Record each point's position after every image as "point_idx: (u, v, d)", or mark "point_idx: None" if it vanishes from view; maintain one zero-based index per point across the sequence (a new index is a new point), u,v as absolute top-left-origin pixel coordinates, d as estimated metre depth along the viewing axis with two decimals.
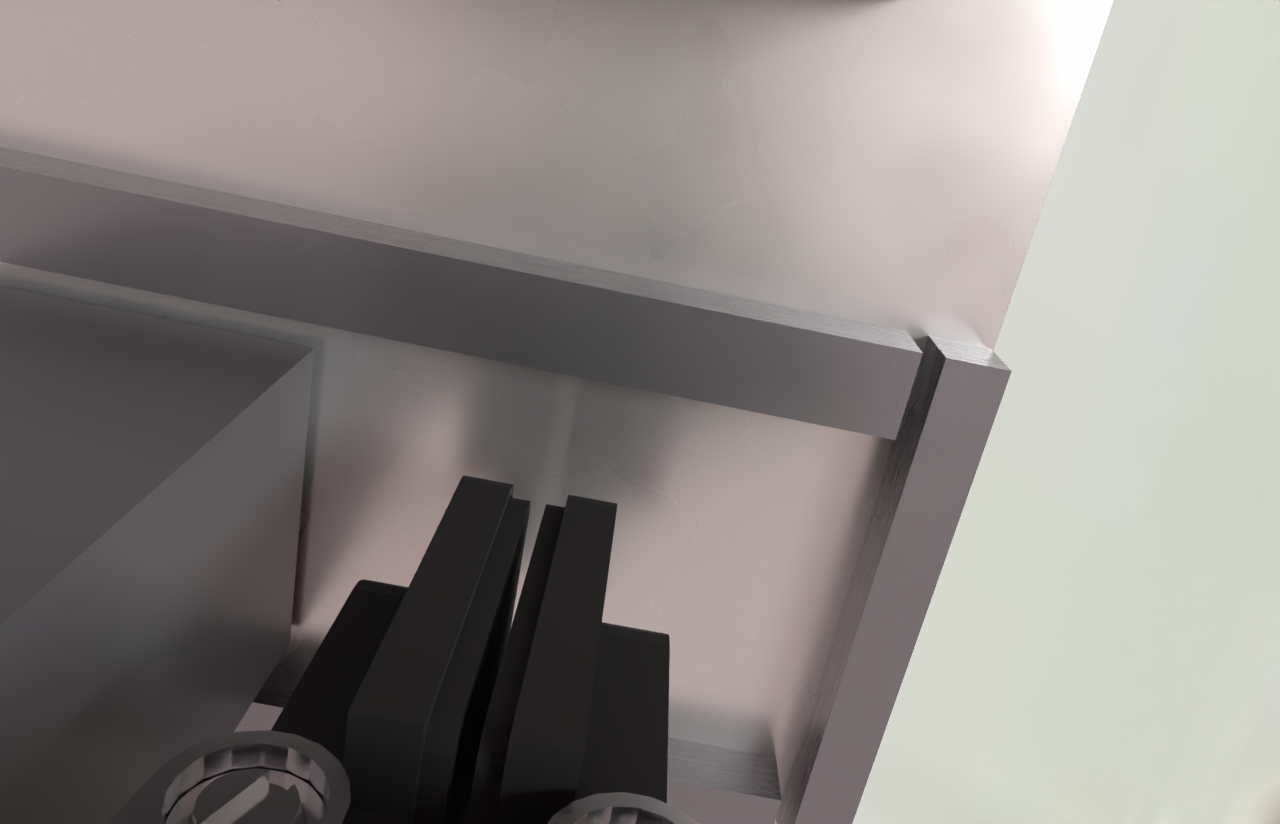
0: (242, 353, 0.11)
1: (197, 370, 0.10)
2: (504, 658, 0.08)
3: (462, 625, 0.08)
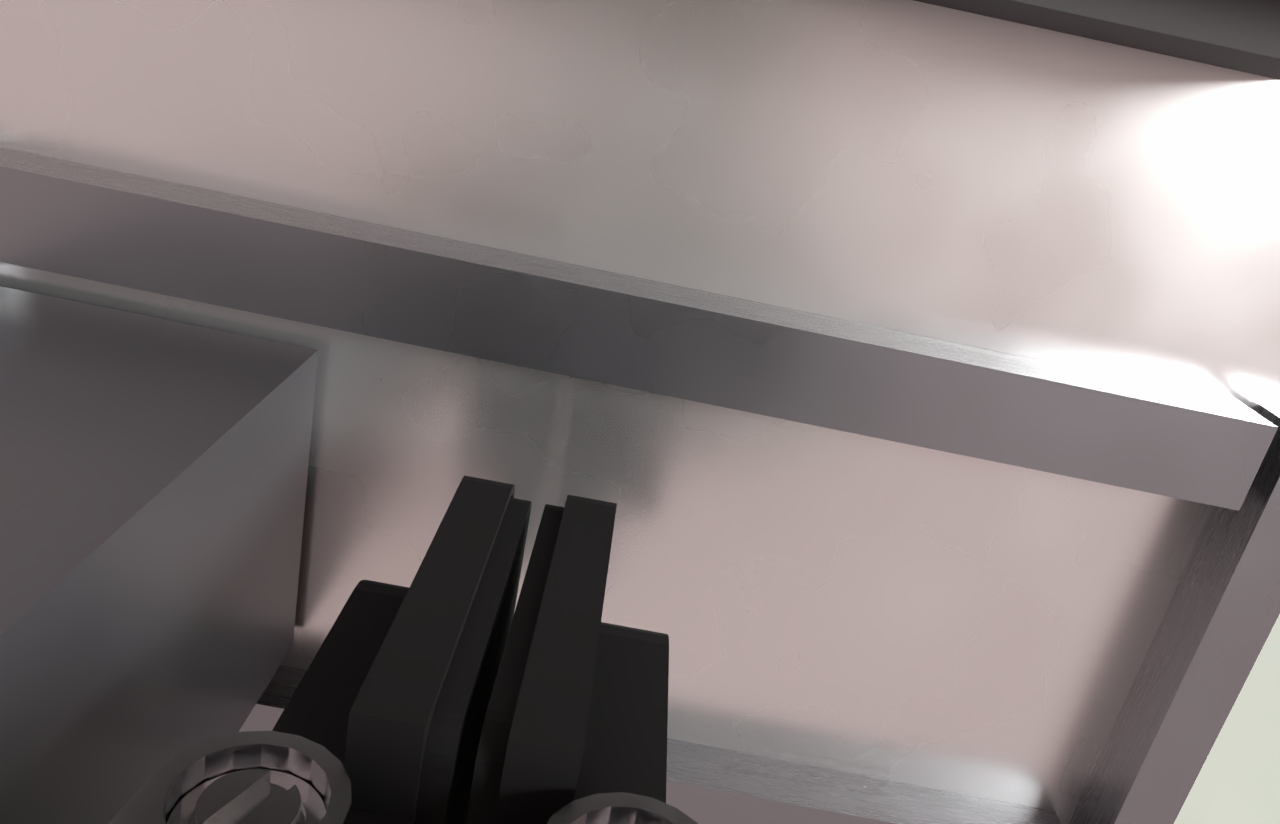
0: (246, 354, 0.11)
1: (201, 371, 0.10)
2: (503, 658, 0.08)
3: (462, 625, 0.08)
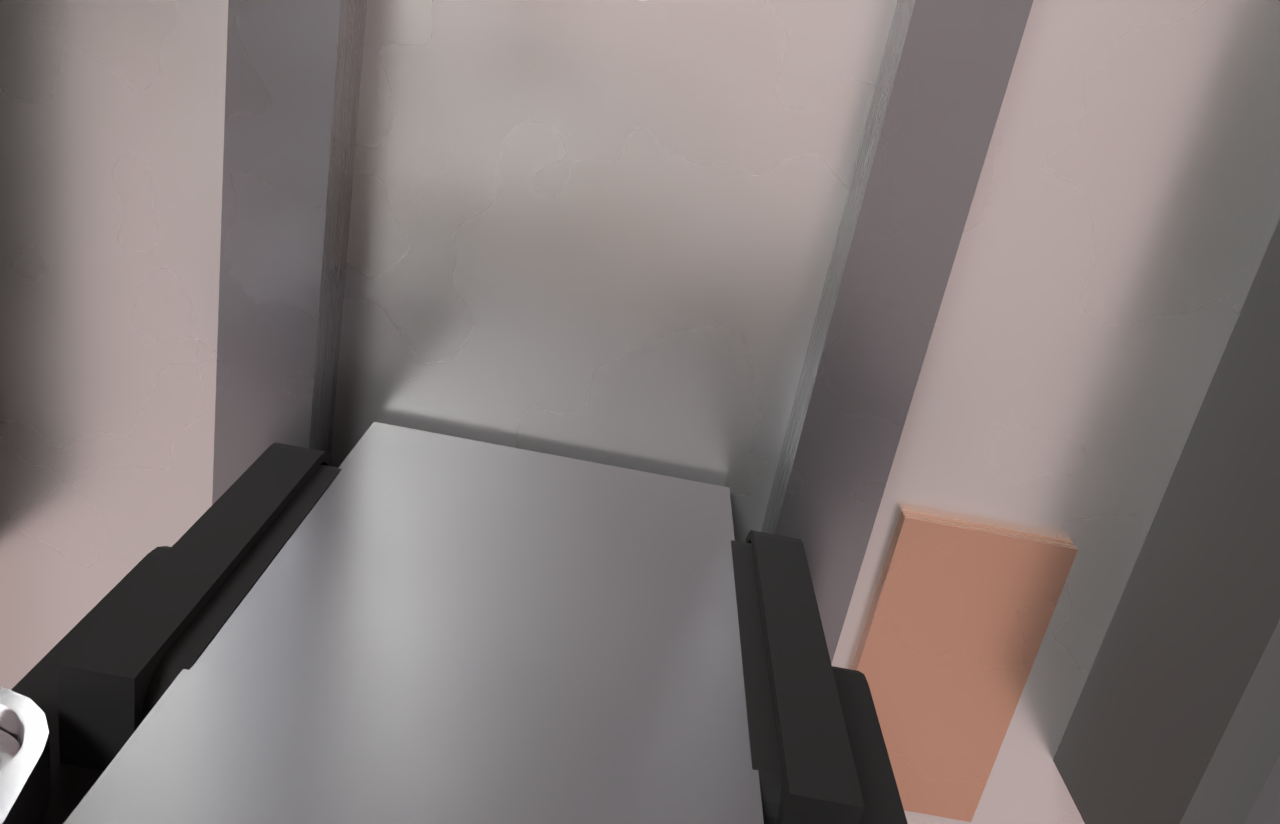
0: None
1: None
2: (748, 705, 0.08)
3: (218, 584, 0.08)
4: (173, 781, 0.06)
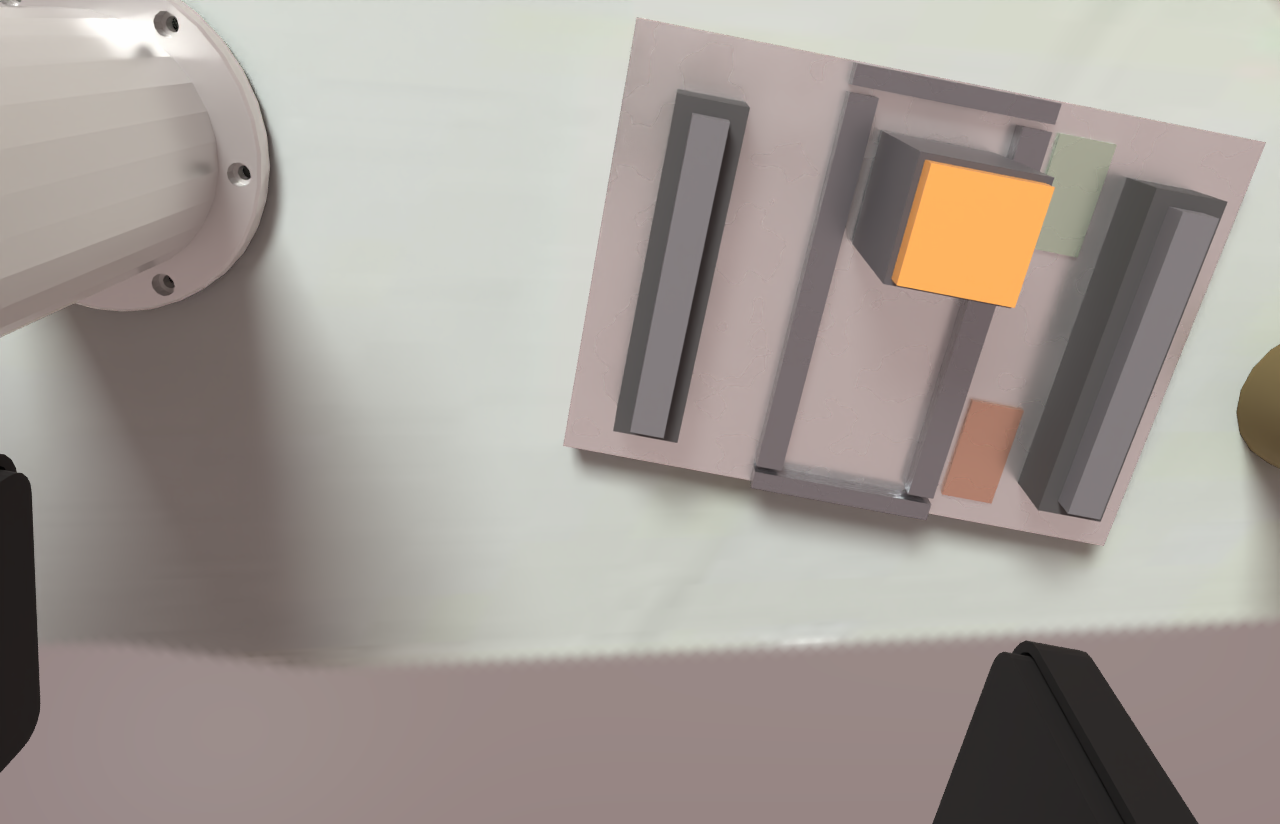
0: (880, 149, 0.34)
1: (882, 157, 0.34)
2: None
3: None
4: (930, 151, 0.30)
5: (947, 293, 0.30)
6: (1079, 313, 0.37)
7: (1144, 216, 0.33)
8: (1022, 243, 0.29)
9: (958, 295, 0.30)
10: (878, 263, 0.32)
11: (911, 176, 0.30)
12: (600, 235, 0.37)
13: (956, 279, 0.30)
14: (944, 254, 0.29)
